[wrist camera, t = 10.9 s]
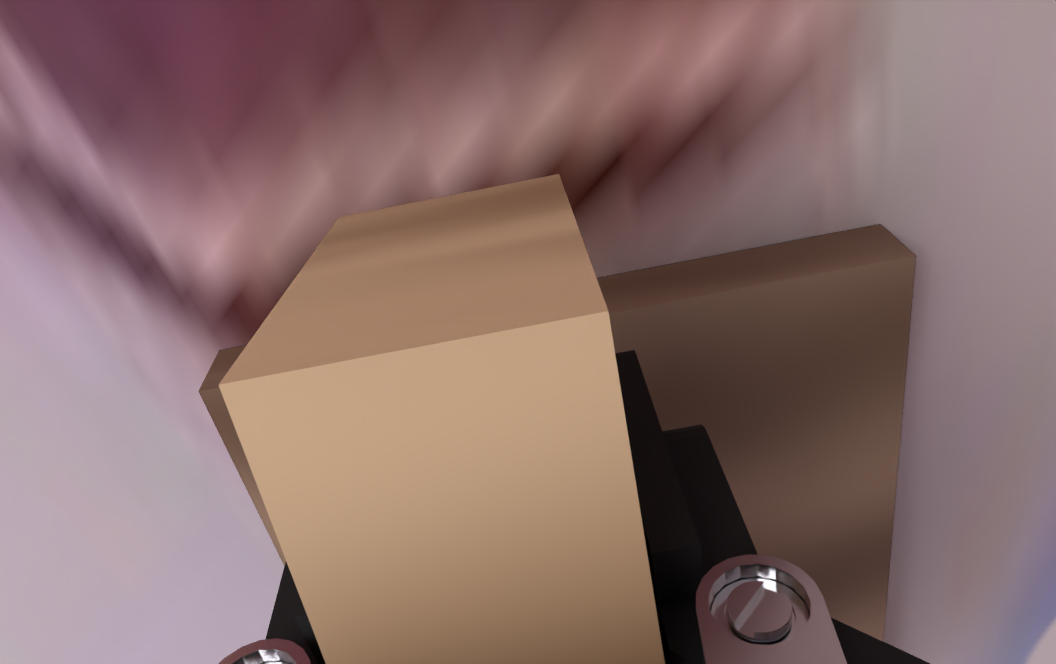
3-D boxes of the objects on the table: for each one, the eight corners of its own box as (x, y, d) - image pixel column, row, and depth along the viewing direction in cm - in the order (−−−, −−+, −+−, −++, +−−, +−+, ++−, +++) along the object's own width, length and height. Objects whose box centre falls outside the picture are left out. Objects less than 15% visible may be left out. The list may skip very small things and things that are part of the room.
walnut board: (219, 350, 17) (198, 391, 15) (880, 224, 16) (916, 255, 15) (411, 768, 25) (408, 817, 24) (853, 693, 24) (874, 740, 23)
